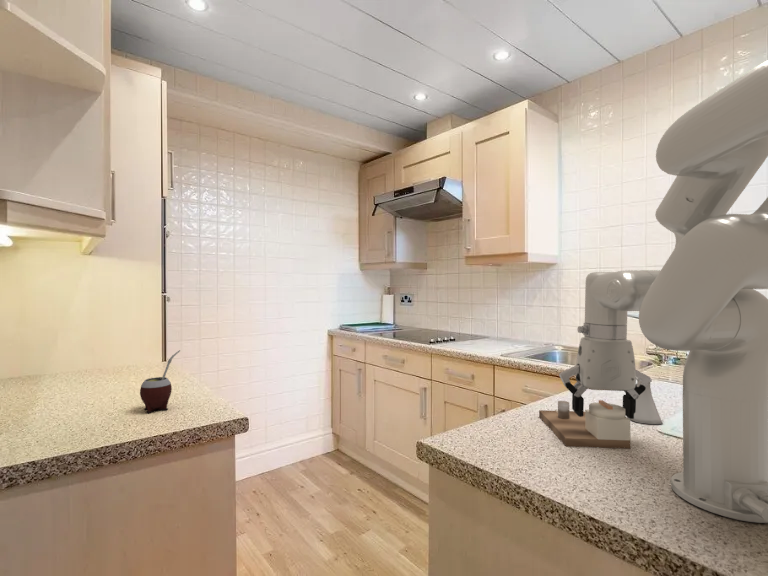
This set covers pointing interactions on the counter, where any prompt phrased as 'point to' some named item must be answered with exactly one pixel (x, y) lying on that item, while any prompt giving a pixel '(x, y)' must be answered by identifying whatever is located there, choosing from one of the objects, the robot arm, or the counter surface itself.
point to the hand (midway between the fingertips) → (603, 415)
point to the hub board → (575, 429)
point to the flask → (646, 408)
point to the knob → (607, 421)
